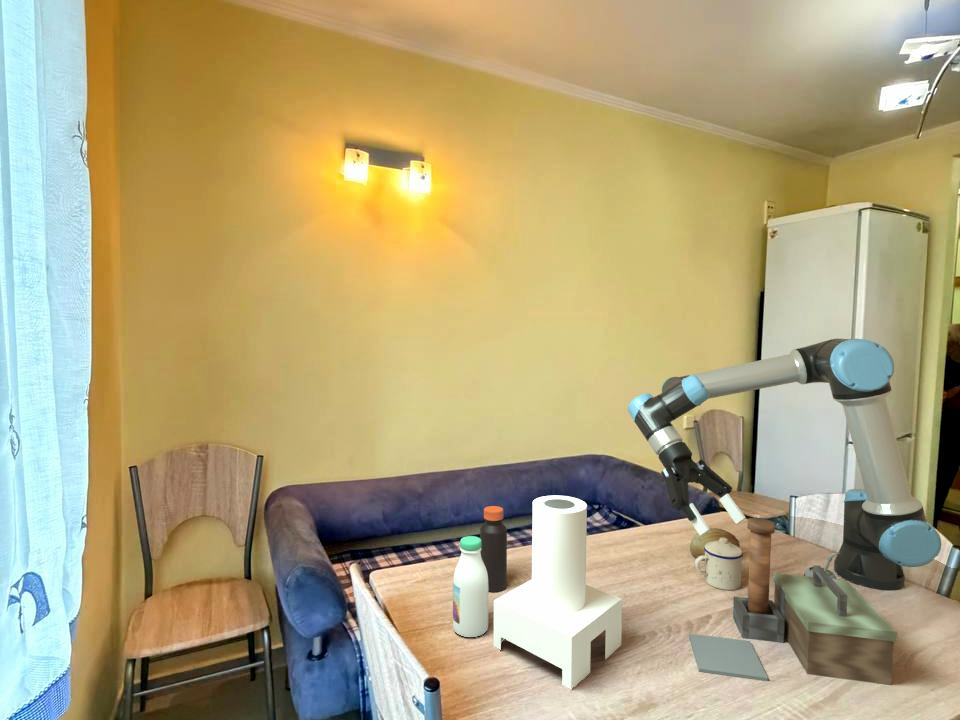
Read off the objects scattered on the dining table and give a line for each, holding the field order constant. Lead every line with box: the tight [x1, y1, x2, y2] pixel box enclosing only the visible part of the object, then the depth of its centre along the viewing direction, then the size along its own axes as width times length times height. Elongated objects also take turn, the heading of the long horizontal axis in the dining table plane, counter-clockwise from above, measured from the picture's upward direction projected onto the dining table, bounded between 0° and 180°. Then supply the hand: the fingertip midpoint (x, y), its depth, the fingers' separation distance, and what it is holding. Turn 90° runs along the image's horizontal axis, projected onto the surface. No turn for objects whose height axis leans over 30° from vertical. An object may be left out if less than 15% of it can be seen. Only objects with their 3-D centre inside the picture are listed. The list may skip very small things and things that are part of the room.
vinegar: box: [479, 505, 508, 593], centre depth 134 cm, size 7×7×20 cm
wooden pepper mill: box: [746, 517, 776, 615], centre depth 115 cm, size 5×5×24 cm
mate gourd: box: [803, 552, 840, 579], centre depth 126 cm, size 8×8×15 cm
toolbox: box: [732, 564, 898, 686], centre depth 109 cm, size 23×21×14 cm
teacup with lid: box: [694, 538, 744, 591], centre depth 136 cm, size 12×9×12 cm
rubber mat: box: [688, 633, 769, 682], centre depth 106 cm, size 12×12×1 cm
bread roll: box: [689, 527, 741, 559], centre depth 152 cm, size 10×15×8 cm, turn 102°
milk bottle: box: [452, 535, 489, 638], centre depth 115 cm, size 8×8×20 cm
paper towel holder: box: [493, 494, 623, 691], centre depth 108 cm, size 19×19×30 cm
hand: (723, 526), depth 121 cm, fingers open, 13 cm apart
